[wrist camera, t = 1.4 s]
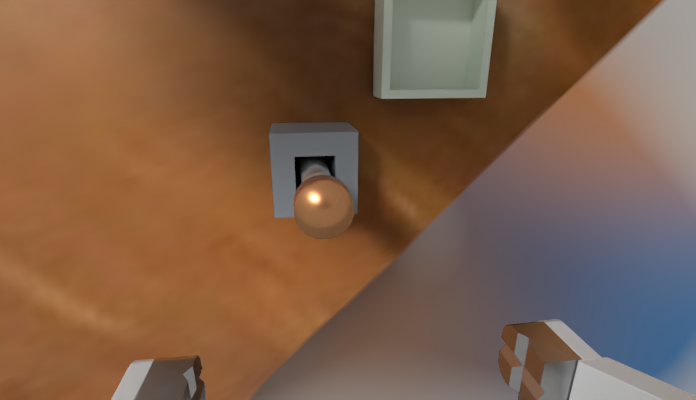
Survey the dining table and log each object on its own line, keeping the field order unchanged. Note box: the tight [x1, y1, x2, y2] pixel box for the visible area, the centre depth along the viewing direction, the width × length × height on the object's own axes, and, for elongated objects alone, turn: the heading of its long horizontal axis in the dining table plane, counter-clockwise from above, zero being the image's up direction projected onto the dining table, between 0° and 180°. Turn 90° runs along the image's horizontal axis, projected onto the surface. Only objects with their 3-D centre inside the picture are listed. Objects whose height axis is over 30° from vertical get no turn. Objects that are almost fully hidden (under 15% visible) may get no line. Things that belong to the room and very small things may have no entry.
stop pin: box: [294, 156, 355, 239], centre depth 26 cm, size 3×3×12 cm
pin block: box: [269, 122, 358, 218], centre depth 29 cm, size 6×6×5 cm
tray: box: [373, 0, 497, 99], centre depth 28 cm, size 8×8×3 cm
